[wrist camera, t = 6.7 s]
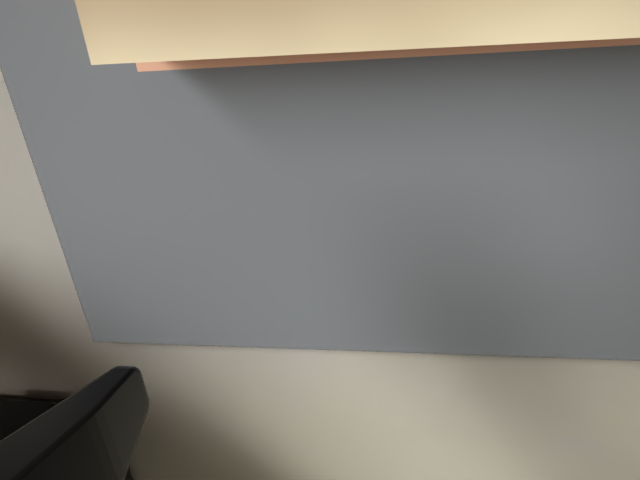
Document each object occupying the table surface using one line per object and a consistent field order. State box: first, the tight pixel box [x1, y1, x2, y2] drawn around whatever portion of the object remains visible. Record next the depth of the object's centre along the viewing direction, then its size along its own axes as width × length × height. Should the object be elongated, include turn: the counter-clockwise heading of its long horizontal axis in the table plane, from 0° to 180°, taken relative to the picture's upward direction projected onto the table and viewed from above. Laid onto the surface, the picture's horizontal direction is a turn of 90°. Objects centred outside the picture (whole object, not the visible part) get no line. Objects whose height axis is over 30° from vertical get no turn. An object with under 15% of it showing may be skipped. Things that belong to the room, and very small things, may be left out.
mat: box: [0, 0, 640, 361], centre depth 14 cm, size 24×24×1 cm
